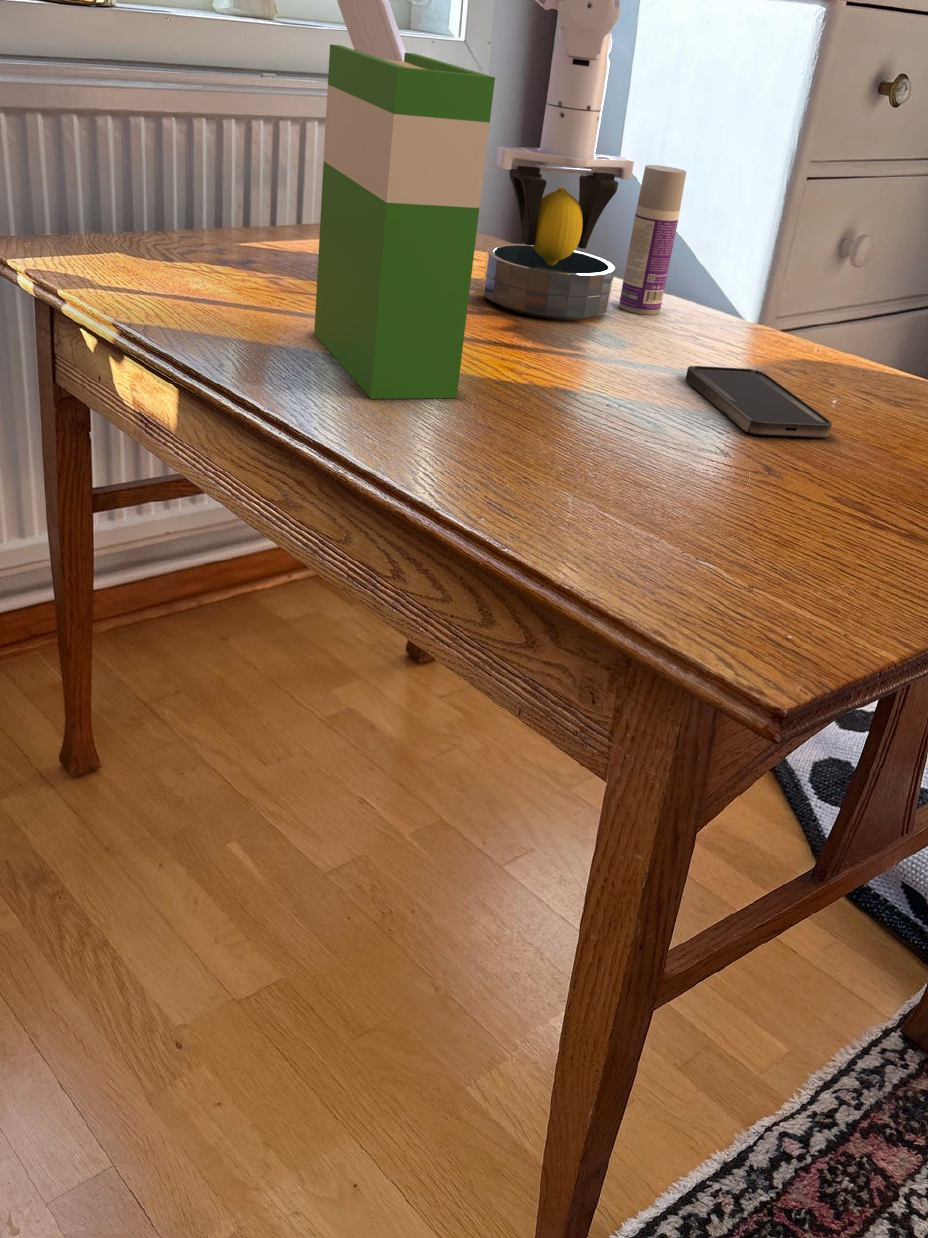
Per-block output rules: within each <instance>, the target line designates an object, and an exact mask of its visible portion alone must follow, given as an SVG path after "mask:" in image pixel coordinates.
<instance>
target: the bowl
mask: <svg viewBox="0 0 928 1238" xmlns="http://www.w3.org/2000/svg"><path fill="white" fill-rule="evenodd" d="M615 272H616V267H615V266H614V264H612V263H611V262H610V261H607V260H606V259H603V258H601V257H598V256H595V255H593V254H589V253H586V252H581V251H578V250H575V251H574V252H573V253H572V254H571V255H570V256H568V257H566V258H565V259H562V260H559V261H558V262H557V263H556V264H555V265H552V266H550V265H548V264H547V262H546V261H545V259H544V258H543V257H542V256H540V255H539V254H538V253H537V252H536V251H535V249H534V247H533V245H526V244H525V243H510V244H509V243H508V244H507V243H506V244H498V245H494V246H491V247H489V248H488V249H487V250H486V256H485V264H484V272H483V279H482V280H483V281H482V287H481V288H482V289H481V292H482V295H483V297H485V298H486V299H488V300H489V301H491V302H492V303H495V304H496V305H498V306H499V307H501V308H504V309H506V310H508V311H511V312H515V313H518V314H521V315H526V316H530V317H535V318H542V319H549V320H559V321H562V320H563V321H564V320H565V321H575V320H584V319H585V320H586V319H589V318H591V317H598V316H600V315H601V316H602V315H603V314H606V312H607V311H608V309H609V306H610V299H611V294H612V288H613V283H614V278H615Z"/></svg>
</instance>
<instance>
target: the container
mask: <svg viewBox="0 0 928 1238" xmlns="http://www.w3.org/2000/svg"><path fill="white" fill-rule="evenodd" d="M686 177H687V170H684V169H681V168H677V167H672V166H666V165H659V164H658V165H657V164H647V165H645V166H644V171H643V175H642V179H641V185H640V190H639V195H638V200H637V205H636V209H635V214H634V219H633V226H632V230H631V236H630V242H629V246H628V253H627V258H626V263H625V269H624V274H623V280H622V285H621V291H620V297H619V303H618V307H619V308H620V309H621V310H624V311H625V312H629V313H632V314H637V315H645V316H646V315H658V314H659V313H660V311H661V308H662V303H663V302H662V301H663V298H664V293H665V287H666V282H667V279H668V273H669V268H670V263H671V257H672V252H673V249H674V244H675V243H674V242H675V238H676V233H677V228H678V223H679V216H680V210H681V206H682V200H683V194H684V189H685V184H686Z"/></svg>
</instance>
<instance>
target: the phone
mask: <svg viewBox="0 0 928 1238" xmlns="http://www.w3.org/2000/svg"><path fill="white" fill-rule="evenodd" d="M684 380H685V381H686V382H687V383H688V384H689V385H690V386H691V387H693V388H694V389H695V390H697V391H698V393H700V394H701V395H702V396H703V397H704V398H705V399H707V400H708V401H709V402H710V403H711V404H713V405H714V406H715V407H716V408H717V409H718V410H720V411H721V412H722V413H723V414H724V415H726V417H728V418H729V419H730V420H731V421H732V422H733V423H735V424H736V425H737V426H738V427H740V429H742V430H743V431H744V432H746V433H748V434H751V435H756V436H762V437H763V436H764V437H766V436H767V437H787V438H788V437H789V438H812V439H813V438H814V439H825V438H828V437H829V435H830V432H831V429H832V425H833V423H832V421H831V420H829V419H828V418H827V417H825V416H824V415H823V414H821V413H820V412H819V411H817V410H816V409H814V408H813V407H812V406H811V405H809V404H808V403H806V402H805V401H803V400H802V399H801V398H799V397H798V396H797V395H796V394H794V393H793V392H792V391H790V390H789V389H787V388H786V387H784V386H783V385H782V384H780V383H779V382H778V381H776V380H775V379H774V378H772V377H771V376H769V375H768V374H766V372H763V371H761V370H759V369H753V368H743V367H742V368H740V367H726V366H725V367H724V366H706V365H705V366H703V365H689V366H688V367H687V371H686V375H685V379H684Z"/></svg>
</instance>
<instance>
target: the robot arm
mask: <svg viewBox="0 0 928 1238" xmlns="http://www.w3.org/2000/svg"><path fill="white" fill-rule="evenodd" d="M336 2H337V5H338V7H339V11H340V13H341V16H342V19H343V22H344V25H345V27H346V30H347V33H348V36H349V38H350V42H351V45H352V47H353V50H356V51H359V52H362V53H365V54H368V55H371V56H374V57H377V58H380V59H384V60H393V61H402V62H404V56H405V53H407V51H406V47H405V45H404V42H403V38H402V36H401V32H400V29H399V26H398V24H397V21H396V19H395V18H396V17H395V14H394V12H393V9H392V7H391V3H390V0H336ZM534 2H536V3H537V4H538V5H539V6H541V7H542V9H544V10H545V11H548V10H551V9H553V10H556V11H557V14H558V19H559V21H560V24H561V25H562V26H559V31H558V36H557V37H558V38H557V43H556V44H557V45H556V51H554V53H553V55H552V59H551V67H550V74H549V81H548V87H547V88H548V89H547V94H546V95H547V96H546V103H545V109H544V117H543V123H542V132H541V137H540V138H541V139H540V145H539V147H521V146H520V147H518V146H517V147H516V146H515V147H514V146H500V145H499V146H498V147H497V154H496V162H495V166H496V167H497V168H499V169H501V170H507V171H509V179H510V182H511V184H512V187H513V190H514V194H515V198H516V202H517V206H518V213H519V221H520V235H521V236H520V238H521V242H522V244H526V245H534V242H535V237H536V230H537V221H538V214H539V209H540V204H541V200H542V198H543V197H544V193H545V189H546V187H547V184H548V182H547V180H546V179H544V178H542V177H543V174H541V172H546V173H557V174H570V175H579V177H578V179H579V182H578V183H579V185H578V187H579V189H578V191H579V192H578V203H579V205H580V207H581V210H582V217H583V227H582V234H581V238H580V241H579V244H578V246H577V248H579V249H583V250H584V249H587V247H588V244H589V241H590V239H591V236H592V235H593V234H592V233H593V231H594V229H595V226H596V225H597V223H598V220H599V219H600V217H601V215H602V213H603V212H604V210H605V209H606V207H607V205H608V204H609V202H610V201H611V200H612V198H613V197H614V196H615V194H616V193H617V191H618V188H619V181H617V180H615V178H617V179H621V180H628V181H631V180H632V175H633V170H634V165H635V160H633V159H632V158H629V157H624V156H623V157H622V156H615V155H606V154H599V153H596V150H597V145H598V138H599V131H600V126H601V119H602V113H603V107H604V101H605V96H606V90H607V84H608V77H609V70H610V65H611V64H610V63H611V62H610V59H609V54H610V53H611V51H612V45H613V38H612V33H611V32H612V30H613V29H614V28H615V26H616V24H617V23H618V20H619V18H620V15H621V8H620V0H534ZM552 164H553V165H560V166H552ZM565 166H569V167H565Z"/></svg>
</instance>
